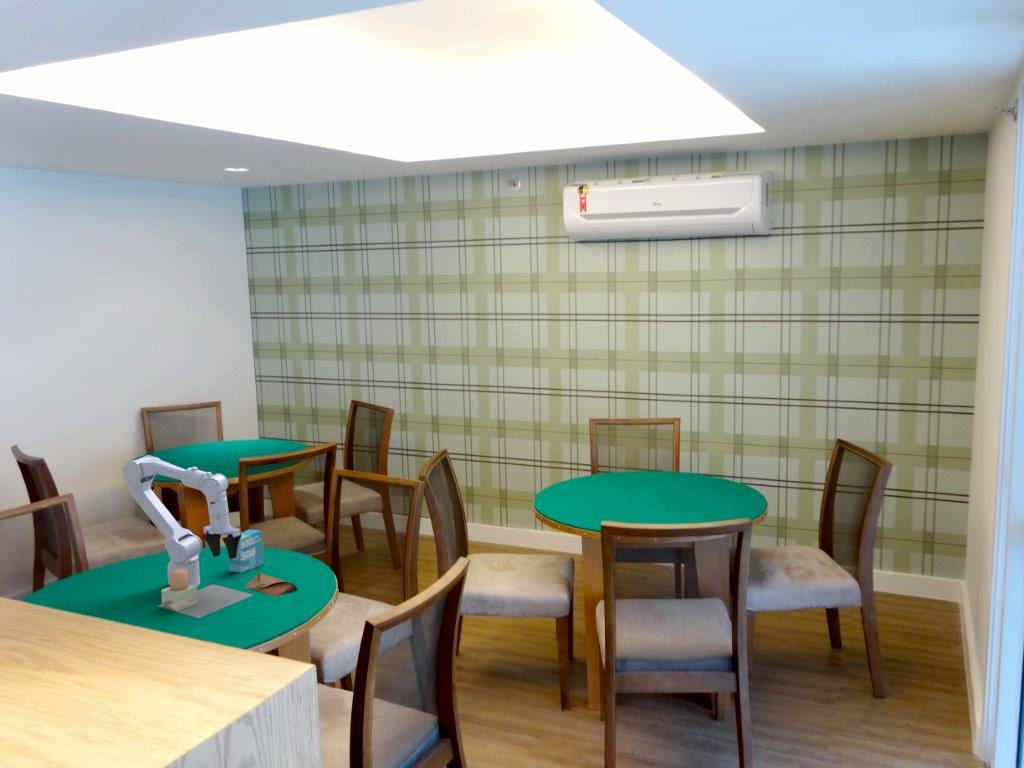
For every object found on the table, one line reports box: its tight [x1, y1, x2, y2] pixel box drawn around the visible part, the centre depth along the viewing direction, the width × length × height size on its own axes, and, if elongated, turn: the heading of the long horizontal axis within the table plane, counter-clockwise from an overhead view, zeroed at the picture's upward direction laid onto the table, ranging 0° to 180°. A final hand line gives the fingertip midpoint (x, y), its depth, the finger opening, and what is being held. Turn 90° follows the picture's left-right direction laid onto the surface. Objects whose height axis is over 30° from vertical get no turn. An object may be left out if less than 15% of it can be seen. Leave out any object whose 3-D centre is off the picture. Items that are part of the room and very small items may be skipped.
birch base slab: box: [161, 595, 198, 612], centre depth 248 cm, size 7×7×2 cm
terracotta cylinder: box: [169, 569, 189, 591], centre depth 248 cm, size 5×5×5 cm
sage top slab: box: [160, 584, 198, 603], centre depth 248 cm, size 7×7×2 cm
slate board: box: [158, 584, 254, 619], centre depth 252 cm, size 18×20×1 cm
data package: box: [228, 529, 265, 573], centre depth 281 cm, size 12×4×12 cm, turn 159°
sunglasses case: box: [245, 572, 298, 597], centre depth 261 cm, size 18×7×7 cm, turn 54°
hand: (224, 557), depth 261 cm, fingers open, 7 cm apart
